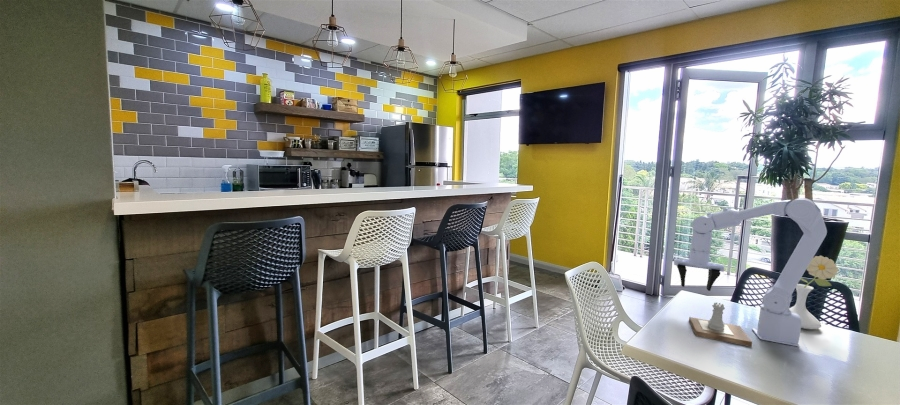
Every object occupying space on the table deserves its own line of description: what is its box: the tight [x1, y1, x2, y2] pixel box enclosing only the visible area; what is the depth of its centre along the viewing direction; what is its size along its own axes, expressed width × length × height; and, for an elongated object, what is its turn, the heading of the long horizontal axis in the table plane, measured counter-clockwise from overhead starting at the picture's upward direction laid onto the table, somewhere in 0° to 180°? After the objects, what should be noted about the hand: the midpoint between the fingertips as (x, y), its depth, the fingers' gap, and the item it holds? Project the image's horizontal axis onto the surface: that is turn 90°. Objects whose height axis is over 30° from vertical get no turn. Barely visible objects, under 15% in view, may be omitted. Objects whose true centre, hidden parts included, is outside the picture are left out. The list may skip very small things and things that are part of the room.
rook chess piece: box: [708, 302, 726, 331], centre depth 117 cm, size 4×4×8 cm
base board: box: [688, 316, 753, 348], centre depth 118 cm, size 14×12×2 cm
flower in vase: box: [789, 255, 839, 330], centre depth 125 cm, size 13×11×25 cm
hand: (695, 287), depth 131 cm, fingers open, 7 cm apart
